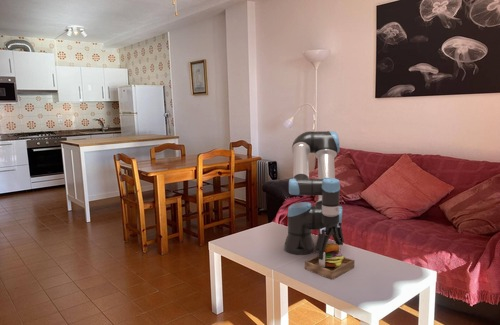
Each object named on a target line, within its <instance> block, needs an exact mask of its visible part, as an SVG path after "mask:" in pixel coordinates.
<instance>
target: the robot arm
mask: <svg viewBox="0 0 500 325" xmlns="http://www.w3.org/2000/svg"><path fill="white" fill-rule="evenodd" d="M340 147H341V146H340V138H339V135H338V133H337V132H336V131H330V130H327V131H325V130H324V131H322V130H321V131H318V130H317V131H305V132H303V133H301V134H299V135H298V136H297V137H296V138H295V139H294V140H293V142H292V146H291V152H292V154H293V163H292V164H293V167H292V169H293V170H292V171H293V172H292V173H293V174H292V176H293V177H292V178H289V180H288V193H289V194H290V195H293V196H318V200H317V201H316V202H315V205H312V203H311V202H308V201H307V202H306V201H304V202H303V201H301V202H296V203H292V204H291V205H289V206H288V208H287V236H286V239H285V242H284V248H283V249H284V250H285V251H286V252H287V253H289V254H292V255H293V254H294V255H309V254H311V253H313V252H314V251H315V252H317V253H318V255H319V265H320V266H322V267H325V252H324V250H325V247H326V244H328V242H329V239H331V236H332V238H333V240H334V242H335V243H334V244H336V245H338V246H339V248H340V249H339V250H337V251H338V252H339V251H340V252H339V254H341V246H343V245H344V241H345V239H344V234H343V231H342V230H343V228H342V220H343V206H342V205H340V197H341V196H340V195H341V194H340V193H341V182H340V179H338V178H336V171H335V170H336V169H335V158H337V155H338V154H339V153H340V149H341V148H340ZM309 154H314V156H315V158H316V159H317V178H310V168H309V167H310V166H309V165H310V164H309ZM312 230H313V231H316V230H317V231H318V236H317V239H316V245H315V242H314V239H313V235H312ZM337 251H336V252H337Z"/></svg>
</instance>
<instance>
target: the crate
mask: <svg viewBox="0 0 500 325" xmlns="http://www.w3.org/2000/svg"><path fill="white" fill-rule="evenodd" d="M343 257H344V259H343V263H342V265H341V266H340V267H338V268H336V267H330V266H325V267H322V266H320V265H319V254H318V255H317V256H314V257H312V258H309V259H308V260H306V261H304V269H305V270H306V271H309V272H311V271H312V273H314V274H318V275H319V274H320V275H319V276H322V275H323V276H322V277H324V276H325V278H327V279H329V278H330V279H329V280H332V279H333V280H334V278H335V279H336V278H338V277H339V276H342V275H343V274H345V273H347V272H350V270H352V269H354V268H355V259H352V258H349V257H347V256H343Z"/></svg>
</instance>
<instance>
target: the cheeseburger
mask: <svg viewBox="0 0 500 325" xmlns="http://www.w3.org/2000/svg"><path fill="white" fill-rule="evenodd" d="M339 249H340V251H339V252H340V254H339V252H338V251H337V250H339ZM336 251H337V252H336ZM324 252H325V266H330V267H336V268H338V267H340V266H341V265H342V263H343V259H344V257H345V256H343V254H341V248H339V246H338V245H336V243H327V244H326V247H325V250H324Z"/></svg>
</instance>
